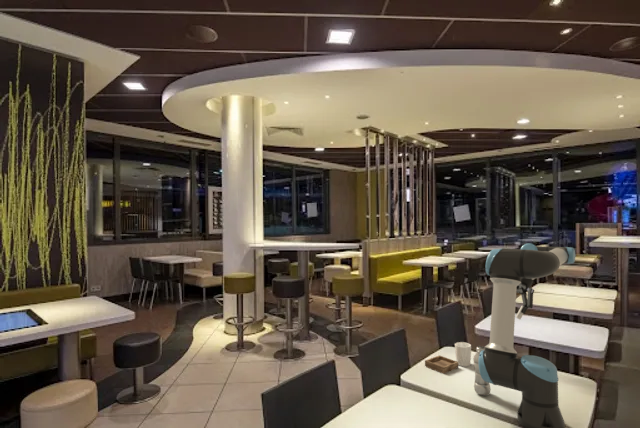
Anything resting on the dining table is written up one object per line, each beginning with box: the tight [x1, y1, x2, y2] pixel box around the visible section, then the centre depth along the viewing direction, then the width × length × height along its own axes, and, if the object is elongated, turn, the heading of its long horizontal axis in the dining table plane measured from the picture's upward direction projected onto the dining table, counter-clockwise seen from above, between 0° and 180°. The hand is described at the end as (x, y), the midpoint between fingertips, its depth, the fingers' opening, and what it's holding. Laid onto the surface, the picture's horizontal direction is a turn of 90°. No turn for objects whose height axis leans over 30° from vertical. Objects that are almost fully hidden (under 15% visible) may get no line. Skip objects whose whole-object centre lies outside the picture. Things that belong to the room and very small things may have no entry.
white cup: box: [454, 341, 472, 367], centre depth 197 cm, size 8×8×10 cm
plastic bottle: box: [472, 345, 491, 397], centre depth 164 cm, size 6×7×20 cm
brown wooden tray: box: [424, 355, 459, 375], centre depth 193 cm, size 12×12×3 cm
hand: (506, 313), depth 193 cm, fingers open, 13 cm apart
